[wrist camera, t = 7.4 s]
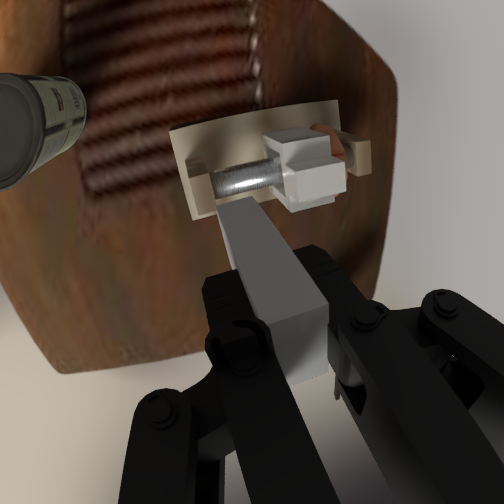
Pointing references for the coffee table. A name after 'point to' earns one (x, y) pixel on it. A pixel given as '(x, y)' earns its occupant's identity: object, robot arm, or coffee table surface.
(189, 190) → the linear slide rail
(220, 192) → the pipe
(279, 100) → the coffee table surface
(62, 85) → the coffee can
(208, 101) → the coffee table surface
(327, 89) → the coffee table surface
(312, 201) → the sleeve
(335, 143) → the o ring
